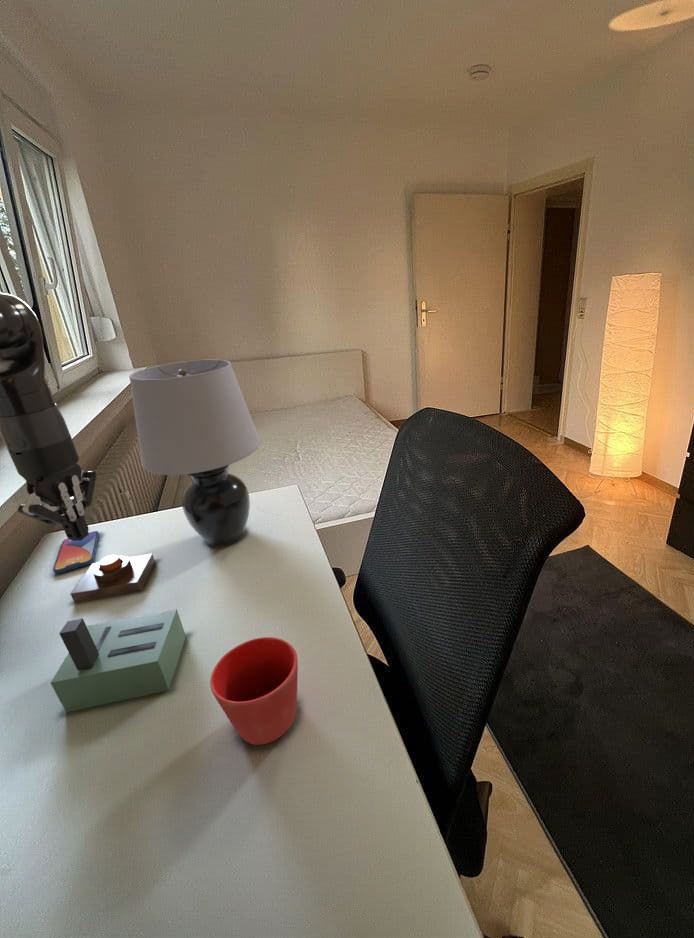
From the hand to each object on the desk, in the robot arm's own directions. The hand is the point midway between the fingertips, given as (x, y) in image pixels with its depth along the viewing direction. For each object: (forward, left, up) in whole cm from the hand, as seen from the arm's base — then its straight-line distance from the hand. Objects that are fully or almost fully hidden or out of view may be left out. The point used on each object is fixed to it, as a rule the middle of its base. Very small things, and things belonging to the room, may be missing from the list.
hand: (80, 538), depth 72 cm
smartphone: (-18, +28, -19) cm, 39 cm away
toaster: (+6, -12, -19) cm, 23 cm away
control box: (-5, +14, -19) cm, 24 cm away
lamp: (+15, +25, -19) cm, 35 cm away
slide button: (+3, -15, -13) cm, 20 cm away
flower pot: (+28, -26, -19) cm, 42 cm away
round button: (-5, +14, -15) cm, 22 cm away
